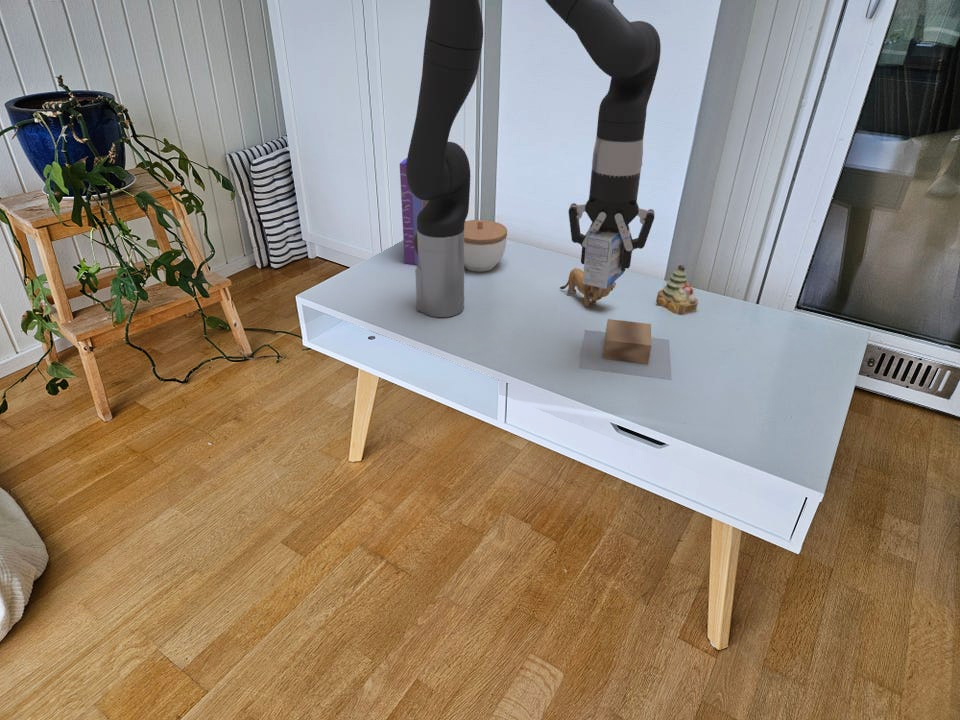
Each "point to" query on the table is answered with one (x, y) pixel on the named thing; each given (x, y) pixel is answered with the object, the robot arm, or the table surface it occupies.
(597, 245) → the medicine box
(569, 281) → the lion figurine
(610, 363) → the plate
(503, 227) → the lidded bowl
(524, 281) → the table surface
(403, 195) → the cereal box
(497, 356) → the table surface
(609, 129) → the robot arm
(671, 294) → the ornament
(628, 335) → the base brick
